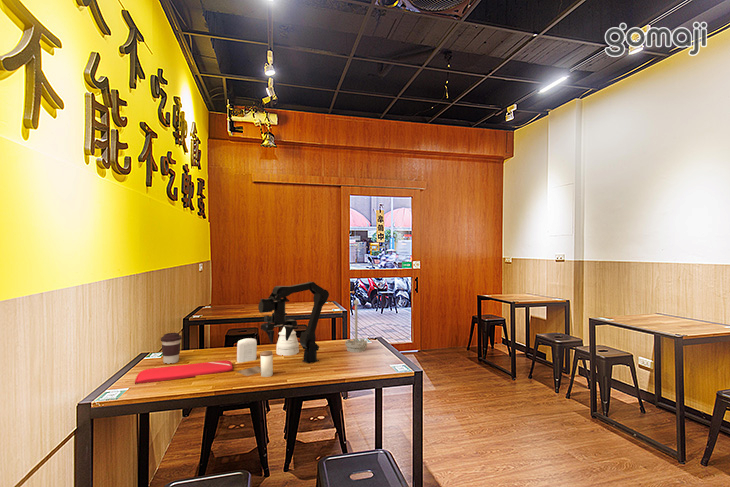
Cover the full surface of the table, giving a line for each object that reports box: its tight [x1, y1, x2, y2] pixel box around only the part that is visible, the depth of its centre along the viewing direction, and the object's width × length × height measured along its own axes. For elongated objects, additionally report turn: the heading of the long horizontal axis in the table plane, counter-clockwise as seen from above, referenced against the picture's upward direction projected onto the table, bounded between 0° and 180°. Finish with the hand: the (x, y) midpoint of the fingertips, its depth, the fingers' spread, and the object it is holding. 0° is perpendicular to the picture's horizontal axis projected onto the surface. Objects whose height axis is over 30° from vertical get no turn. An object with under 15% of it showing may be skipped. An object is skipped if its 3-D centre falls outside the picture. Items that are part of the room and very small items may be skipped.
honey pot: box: [275, 326, 300, 357], centre depth 219 cm, size 13×13×18 cm
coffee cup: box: [160, 332, 183, 365], centre depth 200 cm, size 10×10×15 cm
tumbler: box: [259, 350, 274, 378], centre depth 176 cm, size 6×6×11 cm
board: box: [235, 365, 261, 377], centre depth 182 cm, size 12×10×1 cm
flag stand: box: [344, 299, 368, 353], centre depth 225 cm, size 13×13×30 cm
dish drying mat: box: [134, 360, 234, 385], centre depth 180 cm, size 16×41×4 cm, turn 112°
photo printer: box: [236, 337, 258, 363], centre depth 200 cm, size 10×4×12 cm, turn 123°
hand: (279, 341), depth 190 cm, fingers open, 9 cm apart
